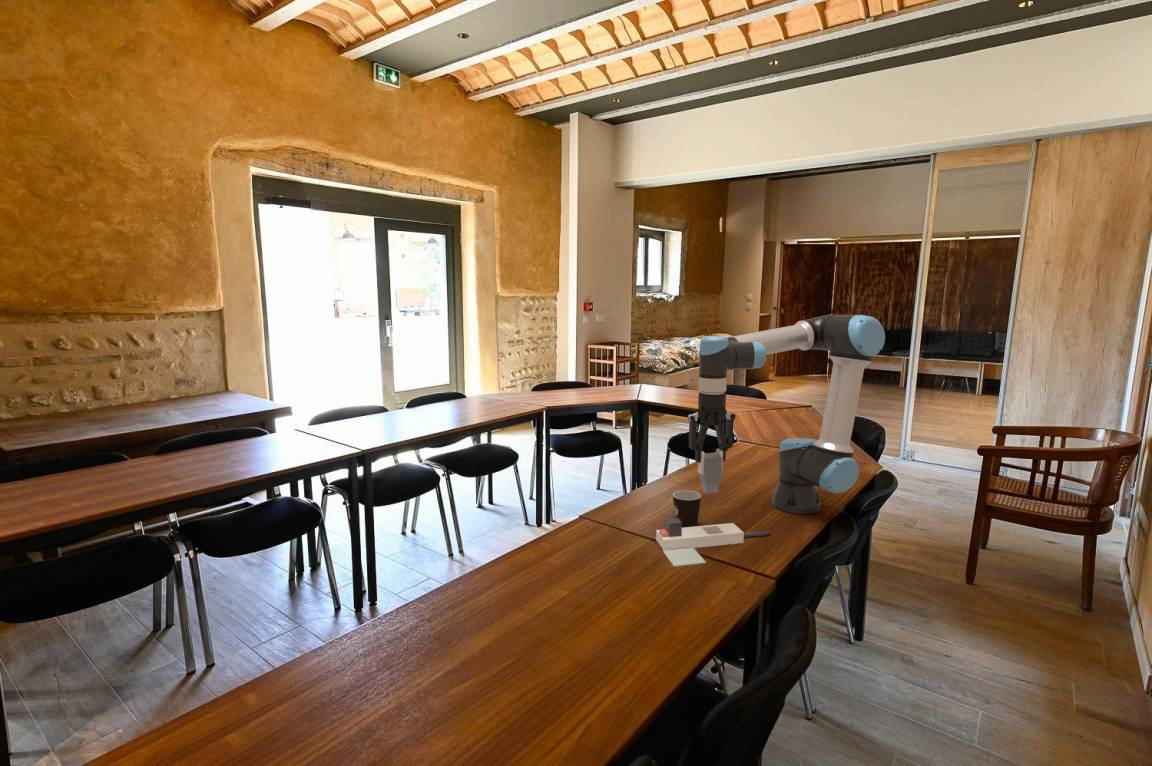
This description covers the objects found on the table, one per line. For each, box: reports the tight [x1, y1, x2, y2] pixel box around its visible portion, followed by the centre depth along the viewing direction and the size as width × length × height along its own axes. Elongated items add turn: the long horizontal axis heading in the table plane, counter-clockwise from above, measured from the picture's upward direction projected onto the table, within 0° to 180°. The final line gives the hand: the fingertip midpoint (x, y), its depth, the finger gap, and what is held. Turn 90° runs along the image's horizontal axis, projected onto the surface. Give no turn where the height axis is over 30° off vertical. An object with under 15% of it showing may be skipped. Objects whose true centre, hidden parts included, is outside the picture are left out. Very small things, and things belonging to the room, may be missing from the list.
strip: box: [655, 517, 771, 551], centre depth 165 cm, size 34×7×7 cm, turn 100°
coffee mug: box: [672, 489, 702, 528], centre depth 177 cm, size 12×9×10 cm
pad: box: [662, 548, 707, 568], centre depth 155 cm, size 9×9×1 cm
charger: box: [698, 452, 723, 495], centre depth 161 cm, size 5×5×10 cm
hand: (709, 472), depth 161 cm, fingers closed on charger, 5 cm apart
